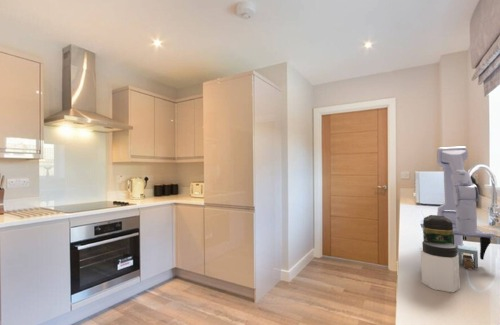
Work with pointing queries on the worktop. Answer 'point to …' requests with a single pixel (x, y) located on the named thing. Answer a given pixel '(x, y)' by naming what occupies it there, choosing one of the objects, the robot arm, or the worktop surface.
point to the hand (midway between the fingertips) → (467, 256)
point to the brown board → (468, 261)
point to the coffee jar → (437, 229)
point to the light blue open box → (470, 251)
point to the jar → (440, 266)
